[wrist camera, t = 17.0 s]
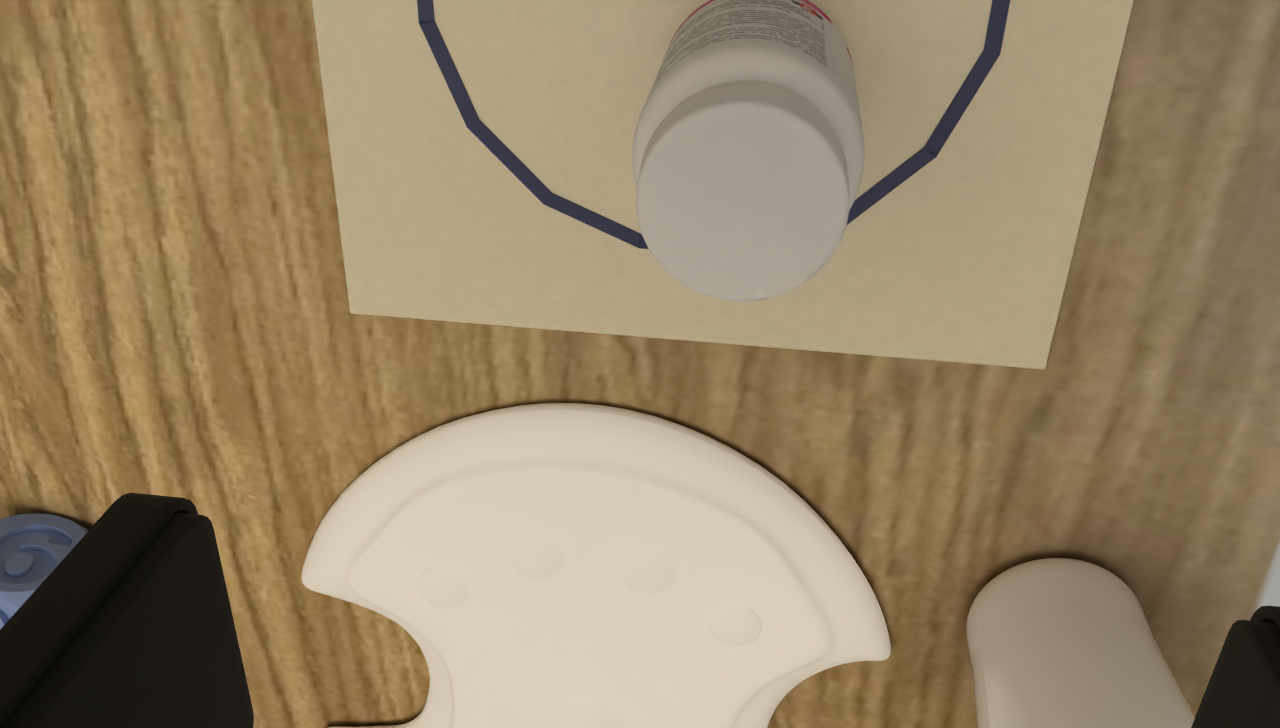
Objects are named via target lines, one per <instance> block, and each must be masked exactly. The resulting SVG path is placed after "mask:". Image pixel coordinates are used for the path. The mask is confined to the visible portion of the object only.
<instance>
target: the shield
mask: <svg viewBox="0 0 1280 728" xmlns="http://www.w3.org/2000/svg"><path fill="white" fill-rule="evenodd" d="M301 580H302V583H303V584H304V585H305V587H307V588H308V589H310V590H313V591H315V592H319V593H322V594H325V595H329V596H332V597H335V598H339V599H342V600H345V601H348V602H352V603H354V604H357V605H360V606H363V607H366V608H368V609H371V610H373V611H375V612H377V613H380V614H382V615H384V616H386V617H387V618H389V619H391V620H393V621H394V622H396V623H397V624H399V625H400V626H401V627H403V628H404V629H405V630H406V631H407V632H408V633H409V634H410V635H411V636H412V637H413V638H414V640H415V641H416V642H417V644H418V645H419V647H420V648H421V650H422V652H423V654H424V657H425V659H426V662H427V665H428V670H429V677H430V684H429V692H428V697H427V701H426V704H425V707H424V709H423V711H422V712H421V713H420V715H419V716H418V717H417V718H415V719H414V720H412V721H410V722H408V723H405V724H401V725H391V726H367V727H341V726H334V727H328V728H767V727H768V724H769V721H770V719H771V717H772V715H773V713H774V711H775V709H776V707H777V706H778V704H779V703H780V702H781V700H782V699H783V698H784V697H785V696H786V694H787V693H788V692H789V691H790V690H792V689H793V688H794V687H795V686H796V685H798V684H799V683H800V682H802V681H803V680H805V679H806V678H808V677H810V676H812V675H814V674H816V673H818V672H820V671H823V670H825V669H828V668H831V667H834V666H837V665H841V664H845V663H850V662H856V661H882V660H886V659H887V658H888V657H889V656H890V654H891V644H890V638H889V634H888V630H887V626H886V623H885V619H884V617H883V614H882V611H881V608H880V605H879V603H878V601H877V599H876V596H875V594H874V592H873V590H872V588H871V586H870V584H869V583H868V581H867V579H866V577H865V576H864V574H863V572H862V571H861V569H860V568H859V566H858V565H857V563H856V562H855V560H854V558H853V557H852V556H851V554H850V553H849V552H848V550H847V549H846V547H845V546H844V545H843V543H842V542H841V541H840V539H839V538H838V537H837V536H836V534H835V533H834V532H833V531H832V530H831V529H830V527H829V526H828V525H827V524H826V523H825V522H824V520H823V519H822V518H821V517H820V516H819V515H818V514H817V513H816V512H815V511H814V510H813V509H812V508H811V507H810V506H809V505H808V504H807V503H806V502H805V501H804V500H803V499H802V498H801V497H800V496H799V495H797V494H796V493H795V492H794V491H793V490H792V489H790V488H789V487H788V486H787V485H786V484H785V483H783V482H782V481H781V480H779V479H778V478H777V477H775V476H774V475H773V474H771V473H770V472H768V471H767V470H766V469H764V468H763V467H762V466H760V465H759V464H757V463H755V462H754V461H752V460H750V459H749V458H747V457H745V456H744V455H742V454H741V453H739V452H737V451H736V450H734V449H732V448H730V447H728V446H726V445H724V444H722V443H720V442H718V441H716V440H714V439H712V438H710V437H708V436H706V435H704V434H701V433H699V432H697V431H694V430H692V429H690V428H687V427H685V426H682V425H680V424H677V423H674V422H671V421H668V420H665V419H662V418H659V417H656V416H652V415H648V414H644V413H640V412H636V411H632V410H628V409H622V408H616V407H610V406H603V405H593V404H582V403H542V404H531V405H520V406H514V407H509V408H503V409H497V410H492V411H488V412H484V413H480V414H476V415H472V416H468V417H464V418H462V419H459V420H456V421H453V422H450V423H447V424H444V425H441V426H439V427H437V428H434V429H432V430H430V431H428V432H426V433H423V434H421V435H419V436H417V437H415V438H413V439H412V440H410V441H408V442H406V443H405V444H403V445H401V446H399V447H398V448H396V449H394V450H393V451H391V452H390V453H389V454H387V455H386V456H384V457H383V458H381V459H380V460H378V461H377V462H376V463H374V464H373V465H372V466H371V467H370V468H368V469H367V470H366V471H365V472H363V473H362V474H361V475H360V476H359V477H358V478H357V479H356V480H355V481H354V482H353V483H352V484H351V485H350V486H349V487H348V488H347V489H346V490H345V491H344V492H343V493H342V494H341V495H340V496H339V498H338V499H337V500H336V501H335V502H334V504H333V505H332V506H331V508H330V509H329V511H328V512H327V514H326V515H325V517H324V518H323V520H322V521H321V523H320V525H319V527H318V529H317V531H316V533H315V535H314V537H313V540H312V542H311V545H310V547H309V550H308V553H307V556H306V559H305V562H304V565H303V569H302V577H301Z"/></svg>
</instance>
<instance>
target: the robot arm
mask: <svg viewBox="0 0 1280 728" xmlns="http://www.w3.org/2000/svg"><path fill="white" fill-rule="evenodd" d="M253 720H254V716H253V709H252V704H251V699H250V695H249V690H248V685H247V681H246V676H245V672H244V667H243V662H242V658H241V653H240V649H239V644H238V639H237V635H236V630H235V626H234V621H233V616H232V612H231V607H230V603H229V598H228V593H227V589H226V584H225V580H224V575H223V570H222V566H221V561H220V556H219V552H218V547H217V543H216V538H215V533H214V529H213V526H212V523H211V521H210V520H209V518H208V517H206V516H203V515H198V513H197V510H196V507H195V505H194V504H193V503H192V502H191V501H190V500H188V499H185V498H178V497H167V496H157V495H147V494H137V493H128V494H125V495H122V496H121V497H120V498H119V499H117V500H116V501H115V502H114V503H113V504H112V505H111V506H110V508H109V509H108V510H107V511H106V512H105V513H104V514H103V515H102V516H101V518H100V519H99V520H98V521H97V522H96V523H95V524H94V525H93V527H92V528H91V529H90V530H89V531H88V532H87V533H86V534H85V535H84V537H83V538H82V539H81V540H80V541H79V542H78V543H77V544H76V546H75V547H74V548H73V549H72V550H71V551H70V552H69V553H68V554H67V556H66V557H65V558H64V559H63V560H62V561H61V562H60V563H59V564H58V566H57V567H56V568H55V569H54V570H53V571H52V572H51V573H50V575H49V576H48V577H47V578H46V579H45V580H44V581H43V582H42V583H41V585H40V586H39V587H38V588H37V589H36V590H35V591H34V592H33V594H32V595H31V596H30V597H29V598H28V599H27V600H26V601H25V602H24V604H23V605H22V606H21V607H20V608H19V609H18V610H17V611H16V613H15V614H14V615H13V616H12V617H11V618H10V619H9V620H8V621H7V623H6V624H5V625H4V626H3V627H2V628H1V629H0V728H253ZM1191 728H1280V607H1276V606H1262V607H1260V608H1259V609H1258V610H1257V611H1255V613H1254V614H1253V616H1252V618H1251V620H1250V621H1247V620H1238V621H1236V622H1235V623H1234V624H1233V625H1232V627H1231V629H1230V630H1229V633H1228V635H1227V638H1226V640H1225V643H1224V645H1223V648H1222V650H1221V653H1220V655H1219V658H1218V661H1217V663H1216V666H1215V668H1214V671H1213V673H1212V676H1211V678H1210V681H1209V684H1208V686H1207V689H1206V691H1205V694H1204V696H1203V699H1202V701H1201V704H1200V706H1199V709H1198V712H1197V714H1196V717H1195V719H1194V722H1193V724H1192V727H1191Z"/></svg>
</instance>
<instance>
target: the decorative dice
mask: <svg viewBox="0 0 1280 728" xmlns="http://www.w3.org/2000/svg"><path fill="white" fill-rule="evenodd" d="M88 531H89V530H88V529H86V528H85V527H83V526H81V525H80V524H78V523H76V522H74V521H72V520H69V519H66V518H63V517H60V516H55V515H50V514H39V513H33V514H21V515H15V516H10V517H6V518H3V519H0V629H1V628H2V627H3V626H4V625H5V624H6V623H7V621H8V620H9V619H10V618H11V617H12V616H13V615H14V614H15V613H16V611H17V610H18V609H19V608H20V607H21V606H22V605H23V604H24V602H25V601H26V600H27V599H28V598H29V597H30V596H31V595H32V594H33V592H34V591H35V590H36V589H37V588H38V587H39V586H40V585H41V583H42V582H43V581H44V580H45V579H46V578H47V577H48V576H49V575H50V573H51V572H52V571H53V570H54V569H55V568H56V567H57V566H58V564H59V563H60V562H61V561H62V560H63V559H64V558H65V557H66V556H67V554H68V553H69V552H70V551H71V550H72V549H73V548H74V547H75V546H76V544H77V543H78V542H79V541H80V540H81V539H82V538H83V537H84V535H85V534H86V533H87V532H88Z"/></svg>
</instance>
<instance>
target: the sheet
mask: <svg viewBox="0 0 1280 728" xmlns="http://www.w3.org/2000/svg"><path fill="white" fill-rule="evenodd" d="M707 1H709V0H312V6H313V14H314V23H315V31H316V39H317V47H318V55H319V63H320V71H321V80H322V88H323V96H324V104H325V112H326V120H327V128H328V137H329V145H330V153H331V161H332V169H333V177H334V185H335V194H336V202H337V210H338V218H339V226H340V234H341V242H342V251H343V259H344V267H345V275H346V283H347V291H348V299H349V308H350V313H352V314H364V315H376V316H389V317H401V318H414V319H426V320H438V321H451V322H463V323H475V324H488V325H500V326H513V327H525V328H537V329H550V330H562V331H575V332H587V333H599V334H612V335H624V336H636V337H649V338H661V339H674V340H686V341H698V342H711V343H723V344H736V345H748V346H760V347H773V348H785V349H797V350H810V351H822V352H835V353H847V354H859V355H872V356H884V357H897V358H909V359H921V360H934V361H946V362H958V363H971V364H983V365H996V366H1008V367H1020V368H1033V369H1045V367H1046V363H1047V359H1048V355H1049V351H1050V347H1051V343H1052V338H1053V334H1054V330H1055V326H1056V322H1057V318H1058V314H1059V309H1060V305H1061V301H1062V297H1063V293H1064V289H1065V284H1066V280H1067V276H1068V272H1069V268H1070V264H1071V260H1072V255H1073V251H1074V247H1075V243H1076V239H1077V235H1078V231H1079V226H1080V222H1081V218H1082V214H1083V210H1084V206H1085V201H1086V197H1087V193H1088V189H1089V185H1090V181H1091V177H1092V172H1093V168H1094V164H1095V160H1096V156H1097V152H1098V148H1099V143H1100V139H1101V135H1102V131H1103V127H1104V123H1105V118H1106V114H1107V110H1108V106H1109V102H1110V98H1111V94H1112V89H1113V85H1114V81H1115V77H1116V73H1117V69H1118V65H1119V60H1120V56H1121V52H1122V48H1123V44H1124V40H1125V36H1126V31H1127V27H1128V23H1129V19H1130V15H1131V11H1132V6H1133V2H1134V0H809V1H811V2H812V3H813V4H815V5H816V6H818V7H819V8H820V9H821V10H823V11H824V12H825V13H826V14H827V15H828V16H829V18H830V19H831V20H832V21H833V22H834V24H835V25H836V27H837V28H838V30H839V31H840V33H841V35H842V37H843V39H844V41H845V43H846V45H847V48H848V50H849V53H850V56H851V60H852V63H853V69H854V76H855V84H856V91H857V98H858V103H859V110H860V116H861V122H862V129H863V135H864V147H865V157H864V169H863V175H862V180H861V184H860V187H859V190H858V193H857V196H856V198H855V201H854V203H853V205H852V207H851V209H850V211H849V215H848V220H847V224H846V229H845V232H844V234H843V237H842V239H841V241H840V243H839V245H838V247H837V249H836V251H835V252H834V254H833V255H832V257H831V258H830V260H829V261H828V262H827V263H826V264H825V266H824V267H823V268H822V269H821V270H820V271H819V272H818V273H817V274H816V275H814V276H813V277H812V278H811V279H809V280H808V281H807V282H805V283H804V284H802V285H801V286H799V287H797V288H795V289H793V290H791V291H789V292H787V293H784V294H782V295H779V296H776V297H773V298H769V299H764V300H759V301H728V300H722V299H717V298H713V297H710V296H707V295H704V294H701V293H699V292H696V291H694V290H692V289H690V288H688V287H686V286H685V285H683V284H682V283H680V282H679V281H677V280H676V279H674V278H673V277H672V276H671V275H670V274H669V273H668V272H667V271H666V270H665V269H664V268H662V266H661V265H660V264H659V262H657V261H656V259H655V258H654V256H653V254H652V253H651V252H650V250H649V248H648V246H647V244H646V242H645V240H644V238H643V236H642V233H641V230H640V227H639V223H638V219H637V212H636V189H637V188H636V184H635V180H634V174H633V162H632V152H633V141H634V134H635V131H636V127H637V123H638V120H639V117H640V115H641V112H642V109H643V107H644V105H645V103H646V100H647V98H648V95H649V93H650V91H651V88H652V86H653V84H654V81H655V79H656V76H657V74H658V72H659V69H660V66H661V64H662V61H663V58H664V56H665V53H666V51H667V48H668V46H669V44H670V42H671V40H672V38H673V36H674V34H675V33H676V31H677V30H678V28H679V27H680V26H681V25H682V23H683V22H684V21H685V20H686V19H687V18H688V16H689V15H690V14H691V13H693V12H694V11H695V10H696V9H697V8H698V7H700V6H701V5H703V4H704V3H706V2H707Z"/></svg>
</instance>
